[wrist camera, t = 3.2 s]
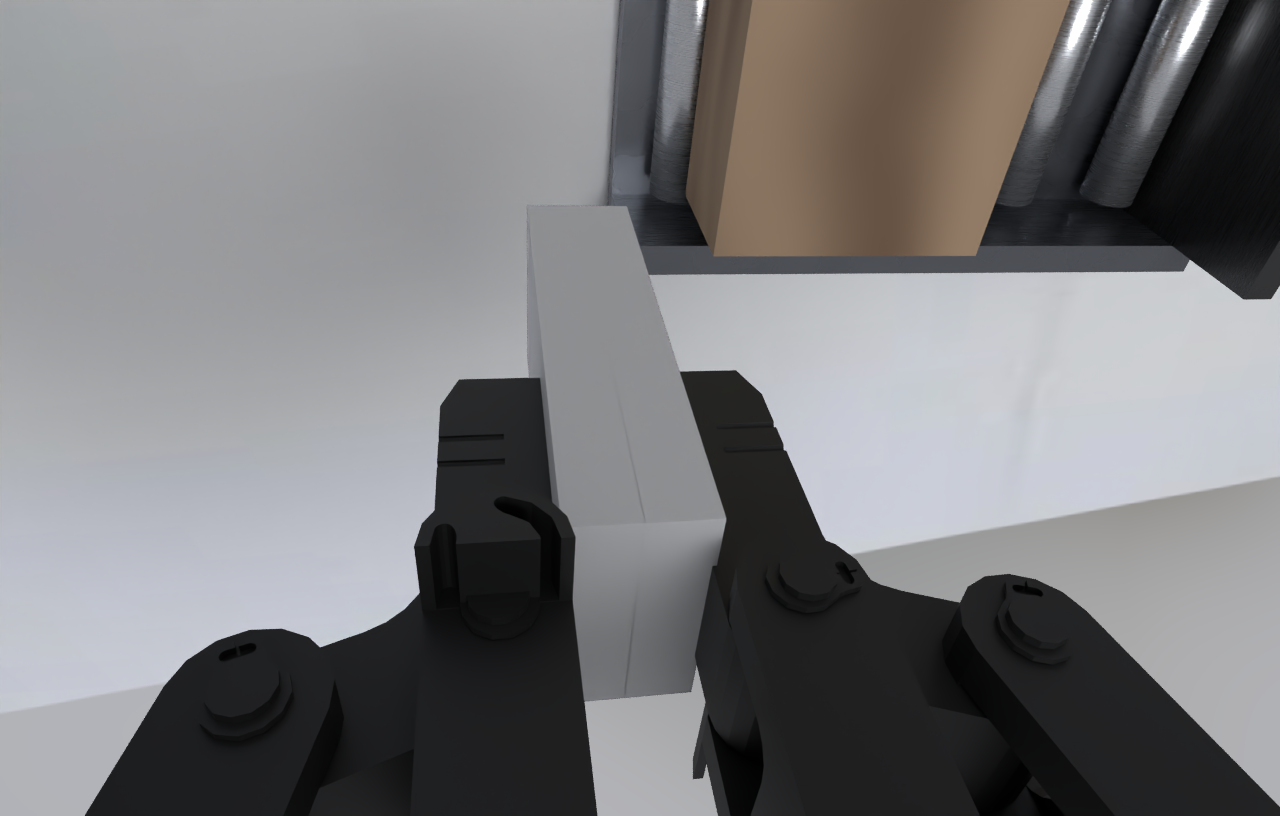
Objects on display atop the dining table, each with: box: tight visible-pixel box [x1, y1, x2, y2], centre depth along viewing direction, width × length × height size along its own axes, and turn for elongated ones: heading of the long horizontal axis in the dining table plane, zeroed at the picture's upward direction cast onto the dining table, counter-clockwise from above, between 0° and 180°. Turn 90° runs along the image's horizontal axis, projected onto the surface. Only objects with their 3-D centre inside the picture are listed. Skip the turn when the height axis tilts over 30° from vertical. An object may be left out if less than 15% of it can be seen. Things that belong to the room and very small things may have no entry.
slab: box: [685, 0, 1070, 256], centre depth 23 cm, size 8×9×4 cm
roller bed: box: [607, 0, 1280, 299], centre depth 24 cm, size 20×13×8 cm, turn 86°
